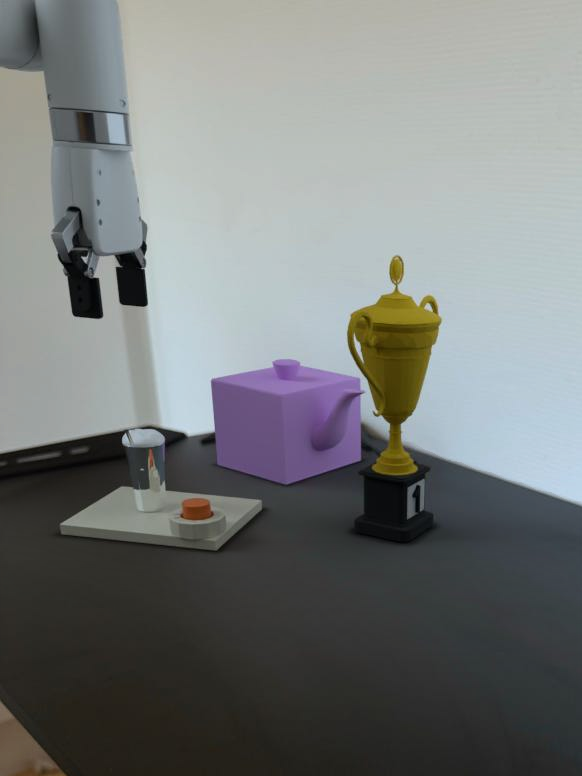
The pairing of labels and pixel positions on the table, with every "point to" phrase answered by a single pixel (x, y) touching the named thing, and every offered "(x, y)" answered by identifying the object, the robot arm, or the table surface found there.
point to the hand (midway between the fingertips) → (112, 311)
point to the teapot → (287, 421)
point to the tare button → (196, 509)
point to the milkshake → (146, 467)
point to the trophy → (394, 405)
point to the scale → (162, 520)
